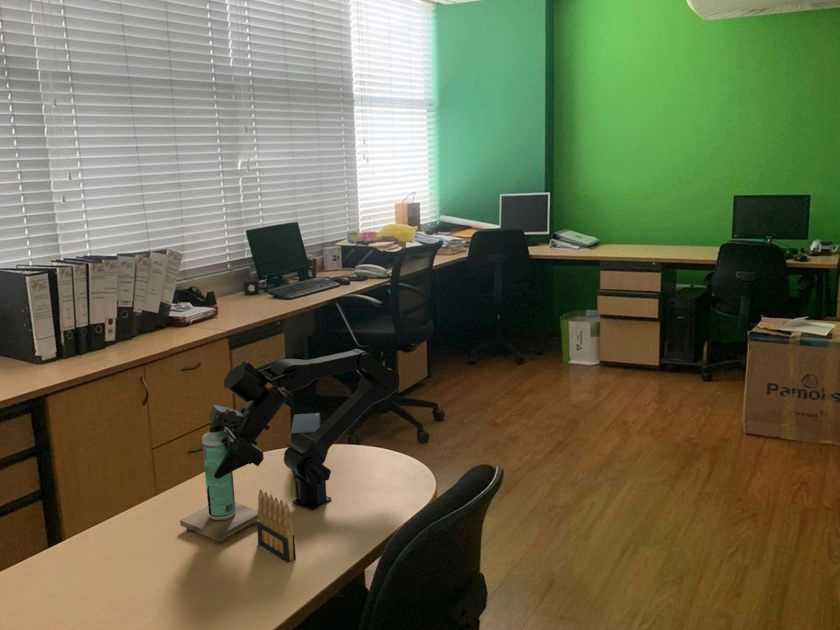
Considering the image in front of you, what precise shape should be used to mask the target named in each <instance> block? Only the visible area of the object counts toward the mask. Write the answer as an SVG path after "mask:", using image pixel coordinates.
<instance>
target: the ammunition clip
mask: <svg viewBox="0 0 840 630" xmlns="http://www.w3.org/2000/svg"><path fill="white" fill-rule="evenodd" d="M257 500H258V501H257V502H258V503H257V505H258V507H257V510H258V519H259V520H258V521H257V525H256V526H257V529H256V530H257V545H259V546H260V547H261V548H263V549H265V550H267V551H269V552H270V553H271V554H273V555H274V556H276V557H277V558H279V559H280V560H282V561H284V562H286V563H287V564H289V563H291V562H294V561H295V560H297V554H296V543H295V540H296V539H295V535H294V534H293V524H292V519H291V511H290V506H289V504H288V503H287V502H285V503H283V500H282V499H280V500H278V498H277V497H273V495H272V494H270V495H269V494H268V493H267V491H265V492H263V490H262V489H261V488H260V489H259V491H258V499H257Z"/></svg>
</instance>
